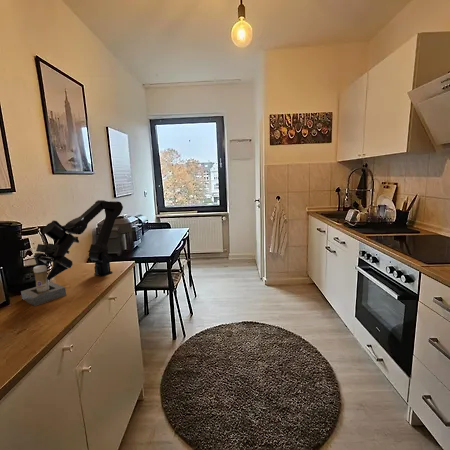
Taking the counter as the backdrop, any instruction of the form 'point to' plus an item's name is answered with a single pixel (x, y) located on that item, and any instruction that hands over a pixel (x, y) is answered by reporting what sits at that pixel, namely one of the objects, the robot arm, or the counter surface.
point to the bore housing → (43, 294)
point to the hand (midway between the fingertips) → (40, 278)
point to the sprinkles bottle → (41, 278)
